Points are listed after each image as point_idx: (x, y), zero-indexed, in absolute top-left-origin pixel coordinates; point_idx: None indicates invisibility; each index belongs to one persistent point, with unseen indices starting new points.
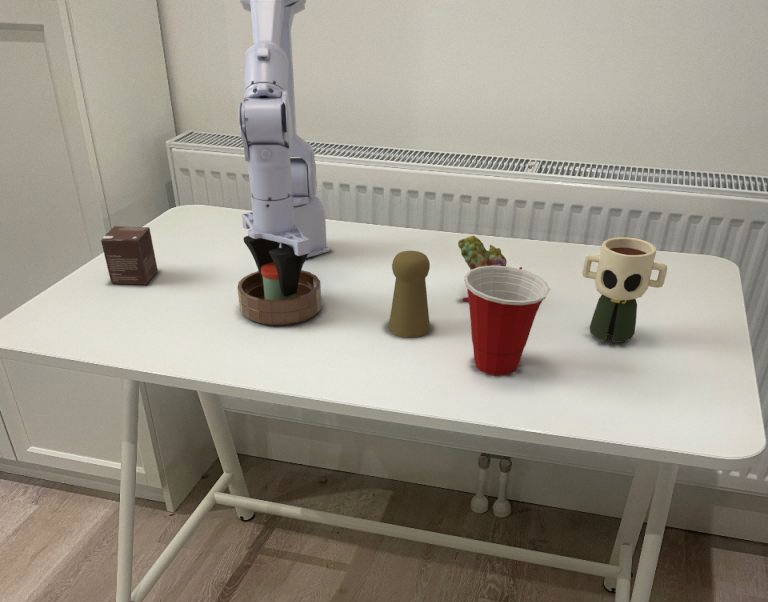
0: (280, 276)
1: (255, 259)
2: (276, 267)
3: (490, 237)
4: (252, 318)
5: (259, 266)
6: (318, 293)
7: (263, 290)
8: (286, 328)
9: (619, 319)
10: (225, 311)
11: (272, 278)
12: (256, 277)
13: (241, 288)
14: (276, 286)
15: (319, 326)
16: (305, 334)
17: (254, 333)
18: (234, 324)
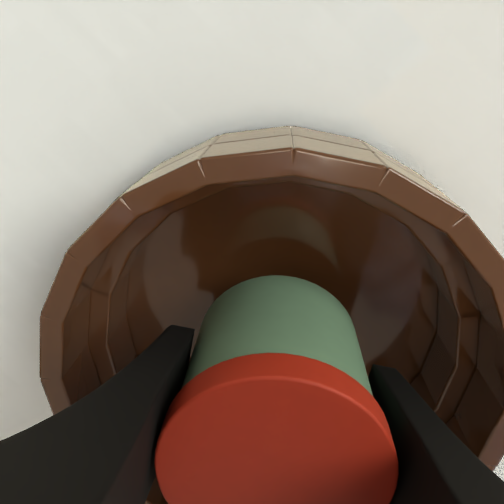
0: (123, 388)
1: (479, 476)
2: (123, 433)
3: None
4: (270, 129)
5: (422, 436)
6: None
7: (434, 369)
8: (113, 194)
9: None
10: (498, 132)
11: (220, 365)
12: (488, 402)
13: (429, 219)
14: (213, 343)
15: (34, 295)
16: (8, 206)
17: (181, 48)
18: (345, 50)
